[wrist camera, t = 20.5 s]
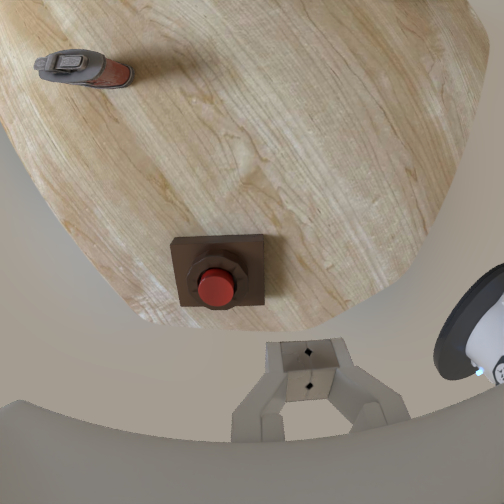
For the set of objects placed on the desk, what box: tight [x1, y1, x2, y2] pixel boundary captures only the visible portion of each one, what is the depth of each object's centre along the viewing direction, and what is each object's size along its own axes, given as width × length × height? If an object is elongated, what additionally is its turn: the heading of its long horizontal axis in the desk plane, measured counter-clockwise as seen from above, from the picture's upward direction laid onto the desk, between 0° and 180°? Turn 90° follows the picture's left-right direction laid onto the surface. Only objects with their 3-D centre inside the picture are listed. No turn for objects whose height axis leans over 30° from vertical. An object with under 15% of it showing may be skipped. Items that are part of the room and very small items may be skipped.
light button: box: [198, 268, 234, 306], centre depth 29 cm, size 4×4×2 cm
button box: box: [170, 234, 265, 310], centre depth 31 cm, size 10×8×4 cm
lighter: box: [34, 49, 135, 89], centre depth 19 cm, size 8×3×10 cm, turn 73°
